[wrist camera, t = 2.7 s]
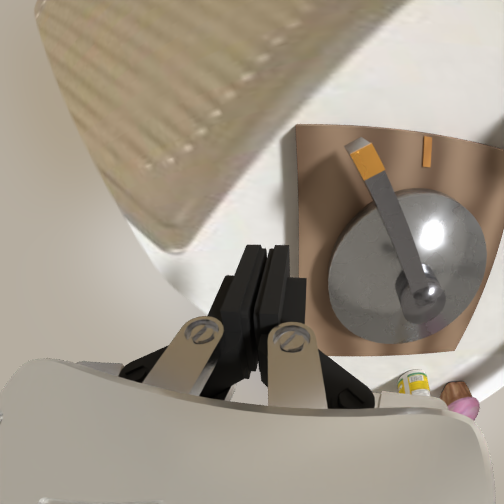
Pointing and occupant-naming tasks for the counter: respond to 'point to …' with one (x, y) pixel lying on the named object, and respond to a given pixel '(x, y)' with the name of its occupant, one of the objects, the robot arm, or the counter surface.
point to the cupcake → (460, 399)
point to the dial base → (357, 197)
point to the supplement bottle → (414, 383)
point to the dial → (403, 259)
